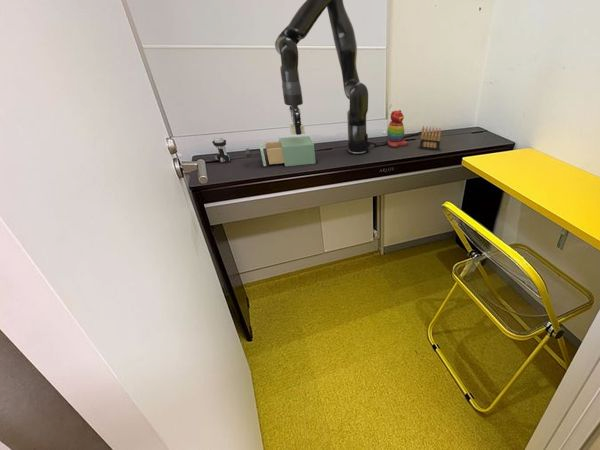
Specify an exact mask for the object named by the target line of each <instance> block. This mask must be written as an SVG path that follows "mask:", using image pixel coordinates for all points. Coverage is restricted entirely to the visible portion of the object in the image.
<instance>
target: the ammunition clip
mask: <svg viewBox="0 0 600 450" xmlns="http://www.w3.org/2000/svg"><path fill="white" fill-rule="evenodd" d="M421 132H422V133H420V141H419V142H420V143H419V149H422V150H423V149H424V150H431V151H440V144H441V137H442V136H441V135H442V128H441V127H439V129H438V127H436V128H435V127H434V126H433V127H431V126H429V127H428V126H426V127H425V126H424V125H423V126H422V128H421Z"/></svg>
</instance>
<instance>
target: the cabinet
mask: <svg viewBox="0 0 600 450" xmlns="http://www.w3.org/2000/svg"><path fill="white" fill-rule="evenodd" d="M278 139H279V140H278V142H279V141H280V143H281V146H282V150H283V157H284V163H283V164H284V165H283V166H284V167H286V168H287V167H295V166H303V165H304V166H305V165H315V164H316V162H317V160H316V153H315V152H316V151H315V144H314V142H313V140H312V138H311V137H310V136H309V135H304V136H290V137H279V138H278Z"/></svg>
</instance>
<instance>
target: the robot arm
mask: <svg viewBox="0 0 600 450" xmlns="http://www.w3.org/2000/svg"><path fill="white" fill-rule="evenodd" d="M344 4H345V3H344V0H305V1H304V2H303V3H302V5H301V6H300V7H299V8H298V9H297V11H296V12H295V14H294V15H293V17H292V18H291V20H290V21H289V23H288V25H286V27H285V28H284V29H283V30H282V31H281V32H280V33H279V34H278V36H277V37H276V40H275V42H274V48H275V51H276V52H277V54H279V55H280V62H281V63H280V67H279V71H280V79H281V89H282V96H283V101H284V102H283V103H284V104H285V105H286V106H289V109H288V110H289V114H290V118H291V122H292V124H294V126H295V131H296V134H295V135H296V136H300V135H302V134H301V128H300V126H301V124H302V118H301V109H300V107H299V106H302V105H303V104H304V100H303V91H302V84H301V81H300V72H299V49H298V44H299V42H300V41H302V40H304V39H305V38H306V37H307V36H308V34H309V33H310V31H311V30H312V28H313V27H314V25H315V24H316V23H317V21H318V19H319V18H320V16H321V15H322V14H323V12H324V11H325V10H326V9H327V13H328V20H329V24H330V29H331V33H332V34H331V35H332V38H333V42H334V47H335V51H336V55H337V59H338V63H339V66H340V71H341V76H342V77H341V78H342V83H343V92H344V96H345V97H346V99H348V100H349V109H348V110H347V111H346V119H347V151H348V153H349V154H352V155H363V154H366V153H368V152H369V148H371V145H374V147H383V146H386V145H388V142H384V143H379V144H377V143H376V142H375V141H374V142H373V141H370V140H369V134H368V133H367V114H368V112H369V90H368V89H369V88H368V87H367V85H366V84H365V83H362V82H361V81H360V78H359V73H358V69H357V68H358V67H357V57H358V43H357V38H356V34H355V29H354V26H353V24H352V21H351V19H350V17H349V15H348V13H347V11H346V8H345V5H344ZM421 133H422V131H418V132H415V133H411V134H406V135H404V137H403V139H405V138H408V137H412V136H413V137H414V136H418V135H419V134H420V135H421Z"/></svg>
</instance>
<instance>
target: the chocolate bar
mask: <svg viewBox="0 0 600 450" xmlns="http://www.w3.org/2000/svg"><path fill="white" fill-rule="evenodd" d="M300 128H301V135H305V134H306V130H305V125H304V124H303V123H301V126H300ZM289 131H290V133H291V135H292V136H293V135H296V131H295V126H294V124H293V123H291V124H289Z"/></svg>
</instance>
